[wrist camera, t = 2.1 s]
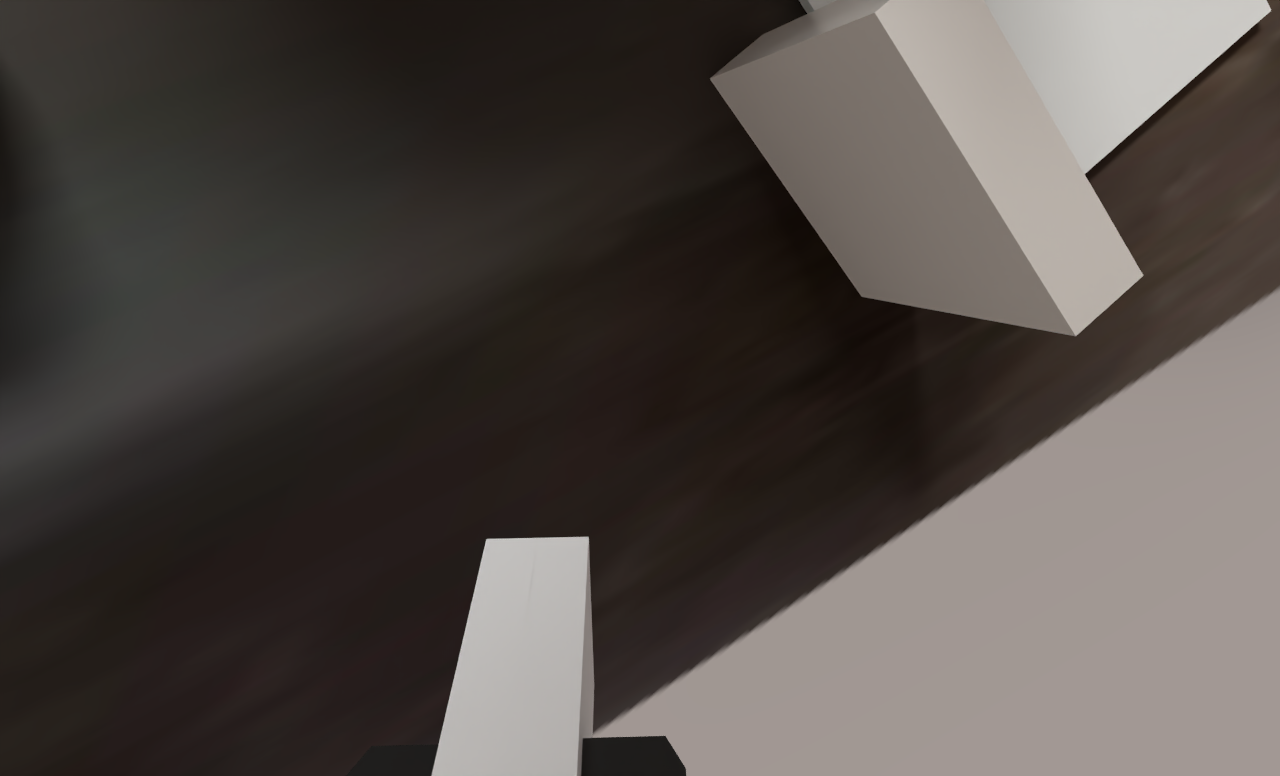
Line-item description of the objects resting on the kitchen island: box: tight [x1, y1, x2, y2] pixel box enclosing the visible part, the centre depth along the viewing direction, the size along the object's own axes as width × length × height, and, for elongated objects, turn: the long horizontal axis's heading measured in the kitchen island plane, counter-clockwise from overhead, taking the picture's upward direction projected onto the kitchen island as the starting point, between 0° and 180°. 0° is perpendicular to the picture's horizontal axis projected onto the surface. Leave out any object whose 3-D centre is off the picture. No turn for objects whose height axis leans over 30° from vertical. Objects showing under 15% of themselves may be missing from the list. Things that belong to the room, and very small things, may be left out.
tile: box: [710, 0, 1143, 336], centre depth 30 cm, size 3×10×12 cm, turn 39°
